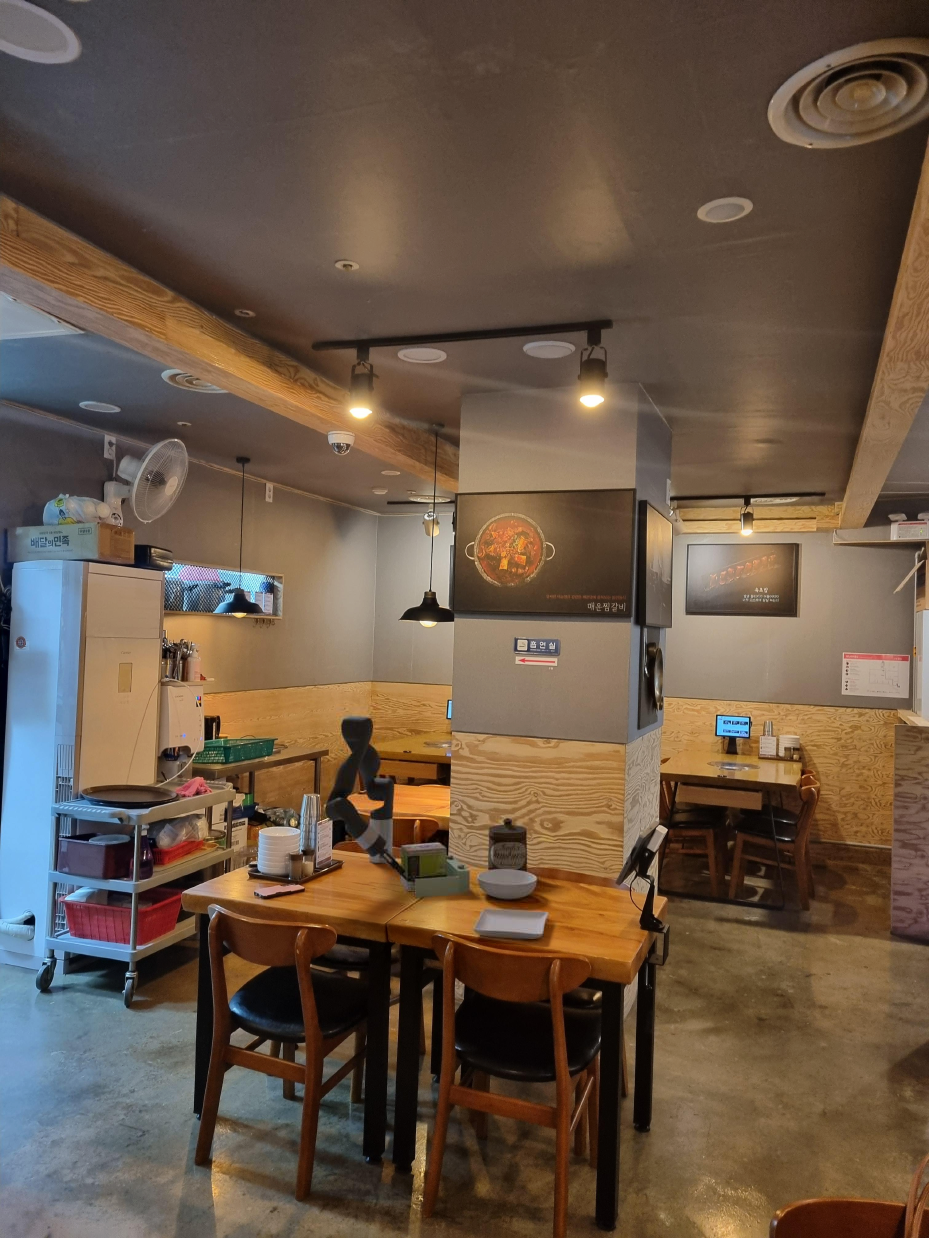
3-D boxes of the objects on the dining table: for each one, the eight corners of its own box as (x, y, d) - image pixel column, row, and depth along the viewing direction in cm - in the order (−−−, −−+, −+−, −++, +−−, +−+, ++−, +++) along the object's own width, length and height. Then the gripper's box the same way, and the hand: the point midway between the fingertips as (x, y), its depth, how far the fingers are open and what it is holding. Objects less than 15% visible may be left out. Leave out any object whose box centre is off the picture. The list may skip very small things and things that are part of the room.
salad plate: (472, 939, 254) (472, 928, 254) (483, 917, 275) (483, 907, 275) (542, 945, 251) (542, 933, 251) (548, 922, 271) (548, 911, 272)
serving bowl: (533, 906, 286) (533, 886, 287) (472, 902, 290) (472, 882, 291) (540, 889, 307) (540, 870, 307) (483, 885, 311) (483, 866, 311)
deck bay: (401, 880, 316) (401, 856, 316) (451, 877, 322) (452, 853, 322) (415, 897, 295) (416, 871, 295) (469, 893, 301) (469, 867, 301)
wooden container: (490, 881, 316) (491, 822, 317) (486, 871, 331) (486, 814, 332) (529, 881, 317) (530, 822, 318) (523, 870, 332) (524, 814, 333)
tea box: (439, 881, 316) (440, 841, 316) (447, 889, 306) (447, 847, 306) (400, 884, 311) (400, 843, 311) (406, 892, 301) (407, 850, 302)
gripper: (381, 836, 296) (415, 869, 300) (374, 828, 309) (406, 860, 312) (366, 852, 295) (400, 885, 298) (359, 844, 307) (392, 876, 310)
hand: (403, 872), depth 305 cm, fingers closed
